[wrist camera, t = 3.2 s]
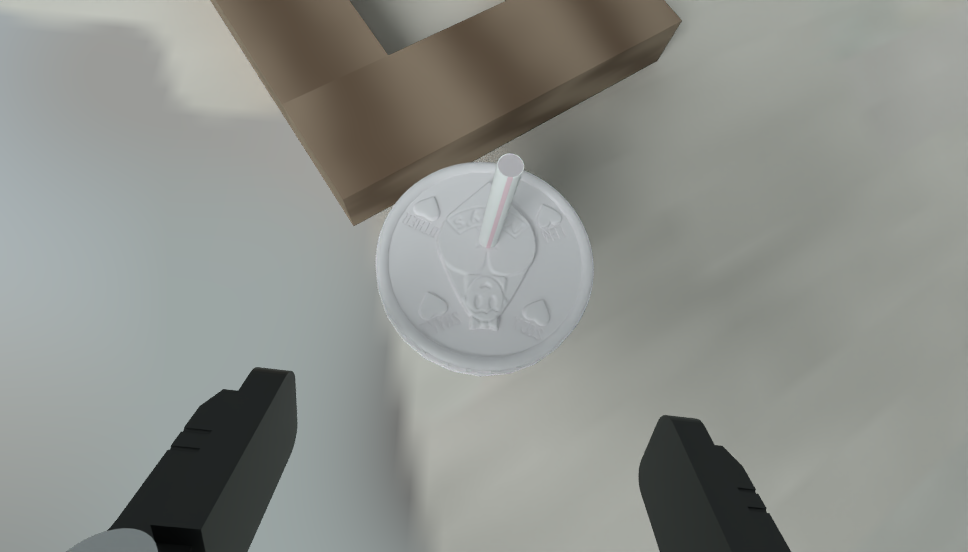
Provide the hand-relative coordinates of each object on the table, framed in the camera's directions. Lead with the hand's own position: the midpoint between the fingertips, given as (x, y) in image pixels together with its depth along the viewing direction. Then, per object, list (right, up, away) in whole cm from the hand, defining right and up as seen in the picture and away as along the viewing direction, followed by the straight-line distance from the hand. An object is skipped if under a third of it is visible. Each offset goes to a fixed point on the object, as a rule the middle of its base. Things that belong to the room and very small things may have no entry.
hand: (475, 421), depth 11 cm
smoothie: (-1, +1, +13) cm, 13 cm away
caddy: (-3, +19, +17) cm, 26 cm away
